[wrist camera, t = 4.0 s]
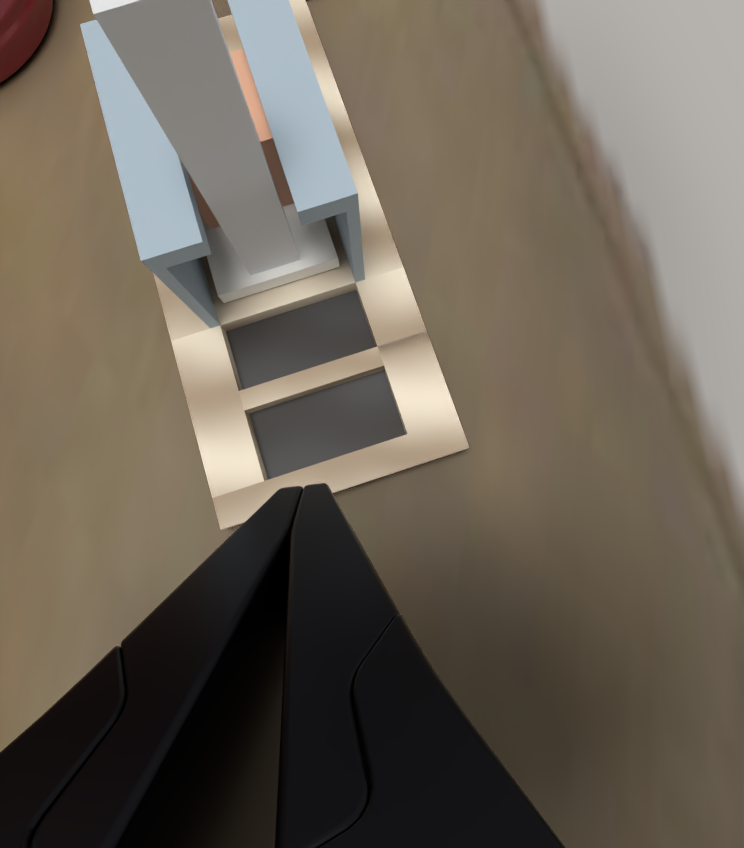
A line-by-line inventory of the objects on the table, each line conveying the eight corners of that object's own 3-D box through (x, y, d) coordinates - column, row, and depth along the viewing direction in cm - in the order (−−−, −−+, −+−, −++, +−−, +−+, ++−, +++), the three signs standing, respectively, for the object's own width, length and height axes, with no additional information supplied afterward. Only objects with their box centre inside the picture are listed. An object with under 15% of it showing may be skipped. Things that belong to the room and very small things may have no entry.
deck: (465, 449, 21) (469, 447, 20) (228, 528, 21) (220, 529, 20) (306, 12, 26) (302, -7, 25) (107, 72, 25) (96, 54, 24)
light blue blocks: (365, 279, 22) (357, 193, 16) (210, 328, 22) (140, 260, 15) (304, 105, 24) (276, -34, 17) (160, 149, 23) (80, 24, 17)
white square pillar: (339, 266, 22) (284, -23, 10) (223, 303, 22) (20, 55, 10) (289, 117, 23) (185, -299, 11) (180, 150, 23) (-46, -235, 11)
